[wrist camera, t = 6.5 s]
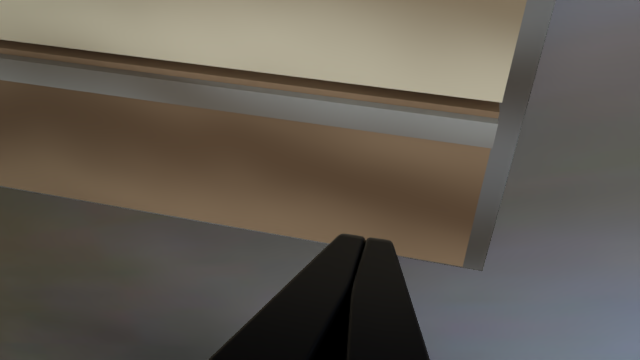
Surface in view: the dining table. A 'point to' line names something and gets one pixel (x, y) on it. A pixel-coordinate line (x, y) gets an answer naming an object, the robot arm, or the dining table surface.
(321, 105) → the floor base
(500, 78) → the click plank
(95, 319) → the dining table surface
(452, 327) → the dining table surface
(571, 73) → the dining table surface
